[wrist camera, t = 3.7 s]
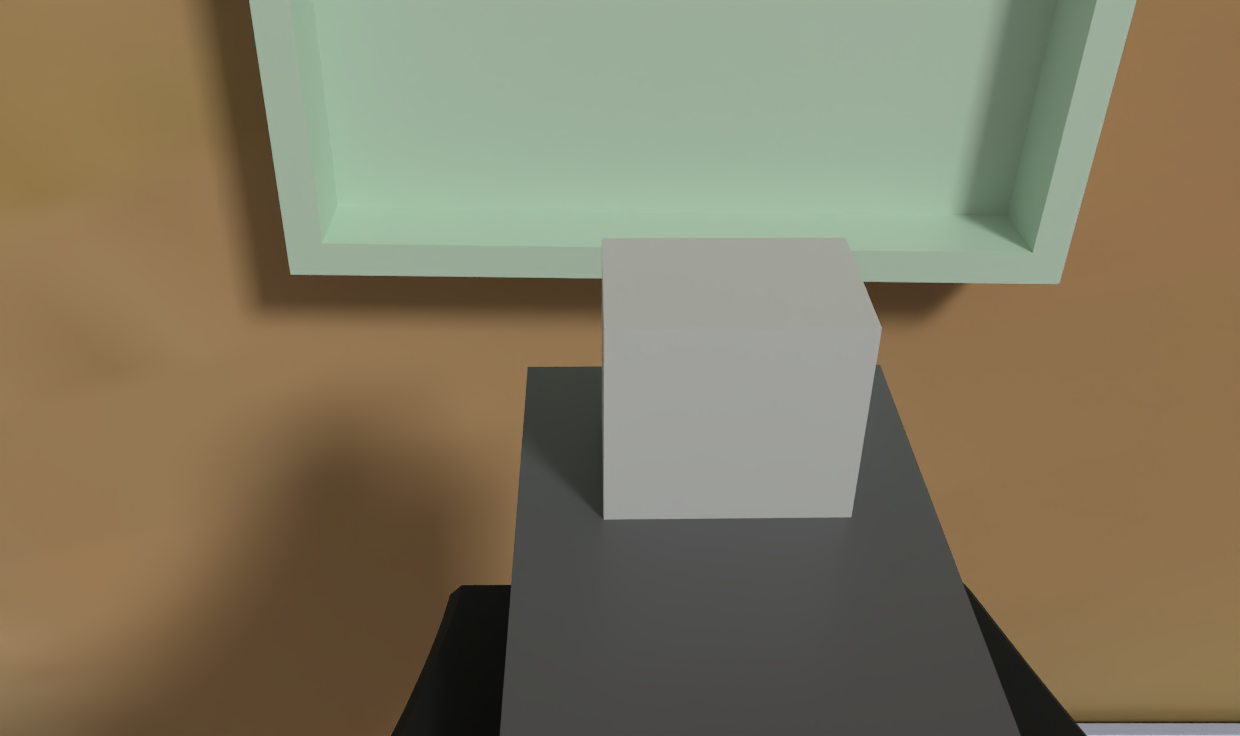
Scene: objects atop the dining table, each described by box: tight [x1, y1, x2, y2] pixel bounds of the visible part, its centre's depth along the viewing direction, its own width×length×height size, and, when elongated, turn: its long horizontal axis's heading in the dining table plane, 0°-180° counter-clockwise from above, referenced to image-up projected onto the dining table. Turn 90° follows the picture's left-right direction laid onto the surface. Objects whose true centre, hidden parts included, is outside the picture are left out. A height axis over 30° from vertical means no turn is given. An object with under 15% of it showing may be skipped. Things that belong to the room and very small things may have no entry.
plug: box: [500, 238, 1021, 736], centre depth 10 cm, size 7×3×6 cm, turn 0°
